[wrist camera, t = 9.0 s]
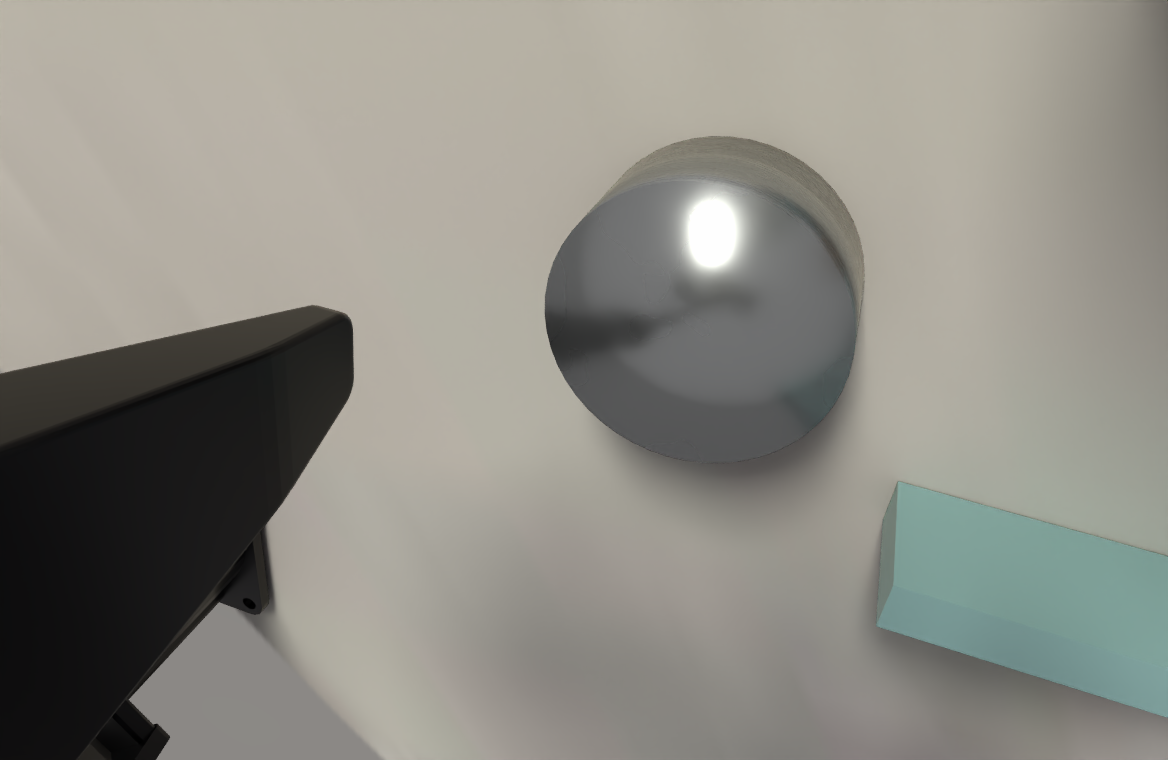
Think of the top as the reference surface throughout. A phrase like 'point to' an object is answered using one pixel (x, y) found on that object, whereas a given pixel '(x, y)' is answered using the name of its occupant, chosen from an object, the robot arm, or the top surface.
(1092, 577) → the parts bay
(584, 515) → the top surface
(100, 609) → the robot arm
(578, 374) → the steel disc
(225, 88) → the top surface
